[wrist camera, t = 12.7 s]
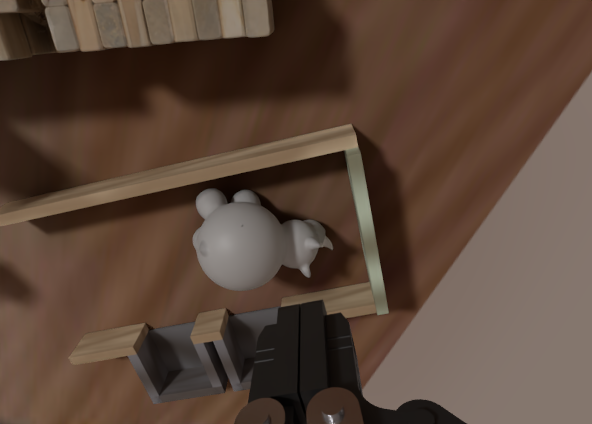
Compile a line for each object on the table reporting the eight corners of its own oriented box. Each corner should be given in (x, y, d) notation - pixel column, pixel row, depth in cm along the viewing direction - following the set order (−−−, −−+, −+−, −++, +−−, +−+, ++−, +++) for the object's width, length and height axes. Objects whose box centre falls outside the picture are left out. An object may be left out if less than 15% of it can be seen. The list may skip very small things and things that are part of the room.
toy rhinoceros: (301, 248, 42) (336, 304, 35) (183, 247, 37) (197, 312, 30) (320, 186, 39) (362, 234, 32) (193, 176, 34) (211, 230, 27)
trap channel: (8, 202, 37) (-33, 227, 33) (351, 123, 34) (358, 139, 29) (116, 385, 47) (96, 424, 43) (390, 340, 43) (400, 377, 39)
